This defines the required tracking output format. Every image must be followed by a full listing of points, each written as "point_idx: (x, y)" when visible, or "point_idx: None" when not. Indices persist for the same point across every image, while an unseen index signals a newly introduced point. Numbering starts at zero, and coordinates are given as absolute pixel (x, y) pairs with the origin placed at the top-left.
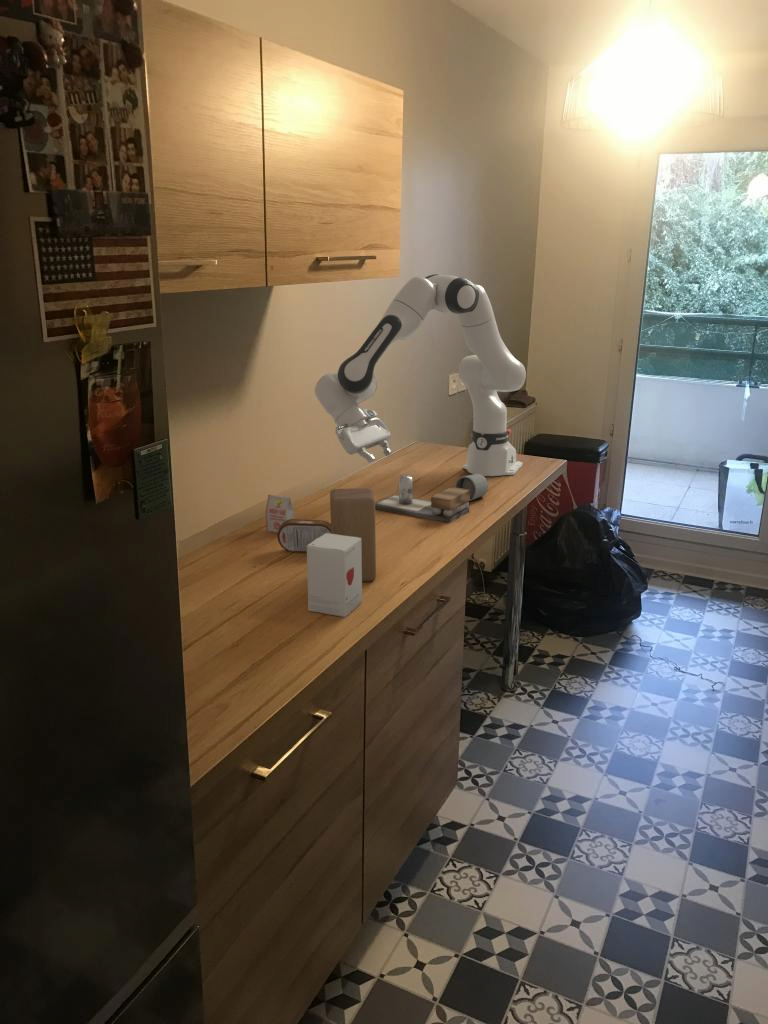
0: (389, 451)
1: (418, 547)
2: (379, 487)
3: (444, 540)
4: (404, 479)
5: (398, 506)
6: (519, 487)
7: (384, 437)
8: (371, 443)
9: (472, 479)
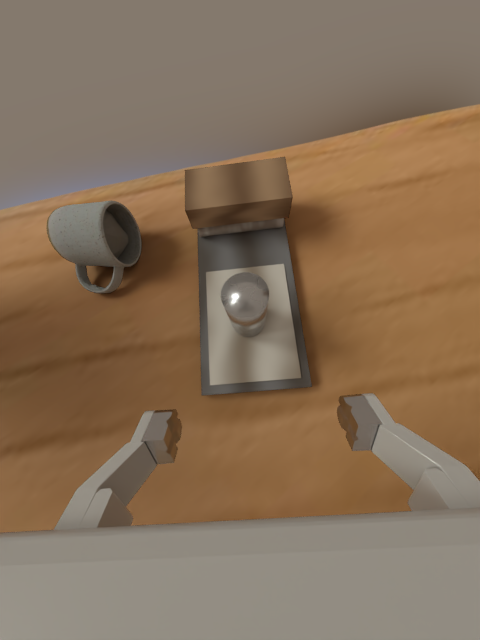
0: (164, 415)
1: (426, 170)
2: (128, 506)
3: (364, 161)
4: (266, 285)
5: (283, 316)
6: (7, 225)
7: (61, 539)
8: (326, 515)
9: (106, 201)
